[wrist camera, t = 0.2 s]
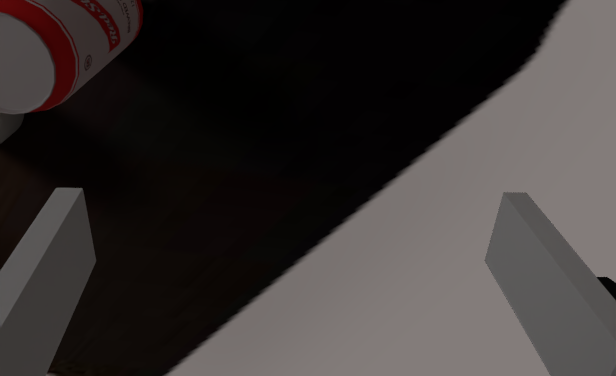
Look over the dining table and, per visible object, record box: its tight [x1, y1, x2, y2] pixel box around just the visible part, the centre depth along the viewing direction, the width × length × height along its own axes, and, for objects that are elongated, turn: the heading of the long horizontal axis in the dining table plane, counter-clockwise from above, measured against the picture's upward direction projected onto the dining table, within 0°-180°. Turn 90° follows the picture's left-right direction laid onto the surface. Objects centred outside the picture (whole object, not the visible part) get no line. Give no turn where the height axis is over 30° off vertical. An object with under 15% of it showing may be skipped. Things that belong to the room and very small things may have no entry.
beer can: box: [0, 0, 143, 115], centre depth 33 cm, size 6×6×16 cm
